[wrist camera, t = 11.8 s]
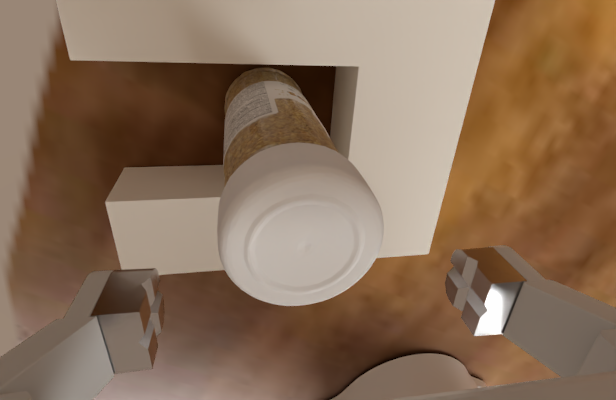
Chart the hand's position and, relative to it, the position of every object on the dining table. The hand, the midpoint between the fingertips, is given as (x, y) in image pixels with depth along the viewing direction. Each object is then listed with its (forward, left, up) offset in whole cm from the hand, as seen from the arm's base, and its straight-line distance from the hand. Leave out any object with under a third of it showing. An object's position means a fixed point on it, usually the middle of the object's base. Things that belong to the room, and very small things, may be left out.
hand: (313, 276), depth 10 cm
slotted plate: (+1, -1, -13) cm, 13 cm away
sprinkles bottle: (+1, 0, -14) cm, 14 cm away
